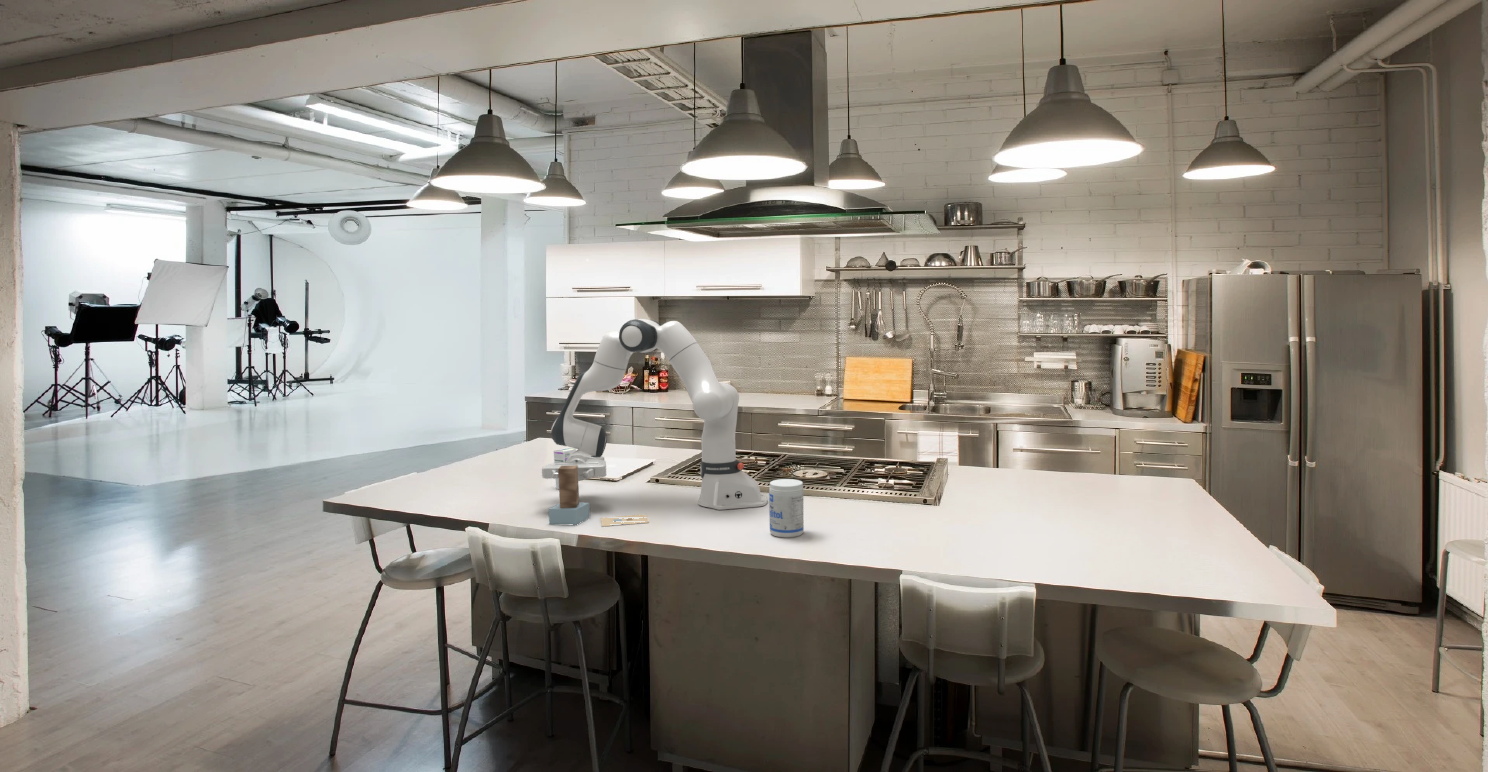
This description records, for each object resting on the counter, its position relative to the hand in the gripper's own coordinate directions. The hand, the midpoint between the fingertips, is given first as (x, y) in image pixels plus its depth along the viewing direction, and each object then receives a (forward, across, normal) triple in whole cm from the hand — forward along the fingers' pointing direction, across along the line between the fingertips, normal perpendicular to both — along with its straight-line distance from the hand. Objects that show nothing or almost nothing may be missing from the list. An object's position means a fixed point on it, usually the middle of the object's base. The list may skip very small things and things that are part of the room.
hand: (570, 475), depth 248 cm
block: (+5, 0, +8) cm, 10 cm away
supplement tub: (+27, +65, +13) cm, 71 cm away
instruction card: (+7, +17, +13) cm, 22 cm away
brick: (+4, 0, +13) cm, 14 cm away
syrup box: (-42, -10, +13) cm, 45 cm away
